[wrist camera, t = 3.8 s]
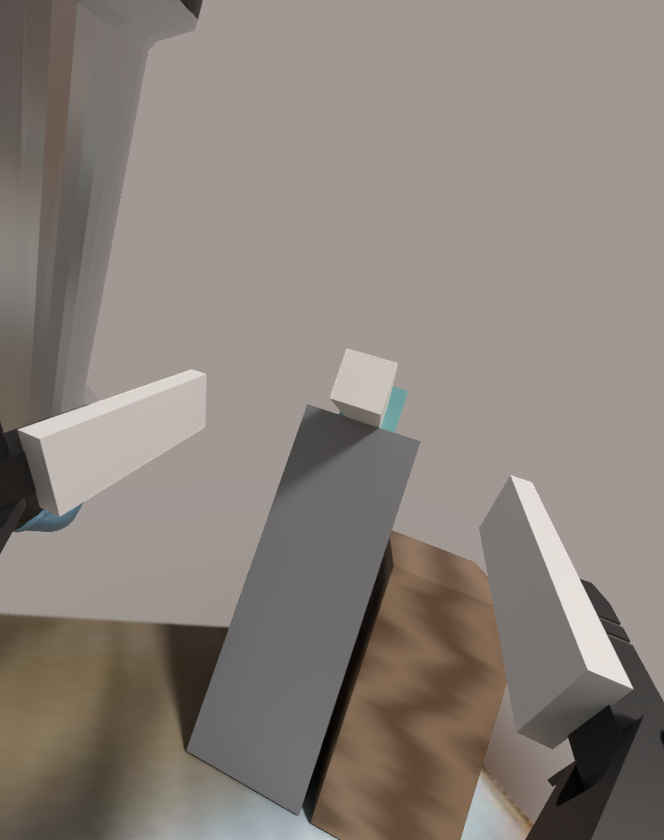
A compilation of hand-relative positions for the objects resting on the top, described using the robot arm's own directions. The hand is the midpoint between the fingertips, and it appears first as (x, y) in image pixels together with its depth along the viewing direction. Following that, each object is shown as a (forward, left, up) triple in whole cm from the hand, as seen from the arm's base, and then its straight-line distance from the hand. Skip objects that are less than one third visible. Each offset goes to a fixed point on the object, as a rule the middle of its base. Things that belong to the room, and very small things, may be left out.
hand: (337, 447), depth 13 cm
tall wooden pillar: (+11, +19, -28) cm, 35 cm away
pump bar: (0, +14, +2) cm, 14 cm away
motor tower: (0, +19, -28) cm, 33 cm away
